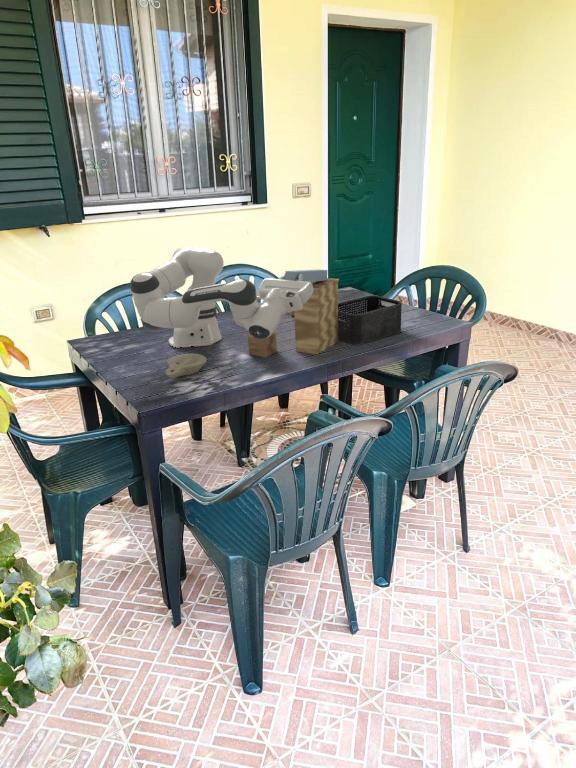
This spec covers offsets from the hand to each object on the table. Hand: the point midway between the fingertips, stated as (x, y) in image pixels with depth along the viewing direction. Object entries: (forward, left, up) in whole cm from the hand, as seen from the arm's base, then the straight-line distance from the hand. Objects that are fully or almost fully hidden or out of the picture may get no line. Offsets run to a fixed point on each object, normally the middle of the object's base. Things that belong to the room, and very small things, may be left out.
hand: (294, 274), depth 208 cm
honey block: (-10, +13, -25) cm, 30 cm away
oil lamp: (-43, +2, -33) cm, 54 cm away
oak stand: (+13, +11, -32) cm, 37 cm away
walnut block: (-10, +13, -32) cm, 36 cm away
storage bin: (+37, +17, -33) cm, 53 cm away
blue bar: (+7, +6, -4) cm, 10 cm away
